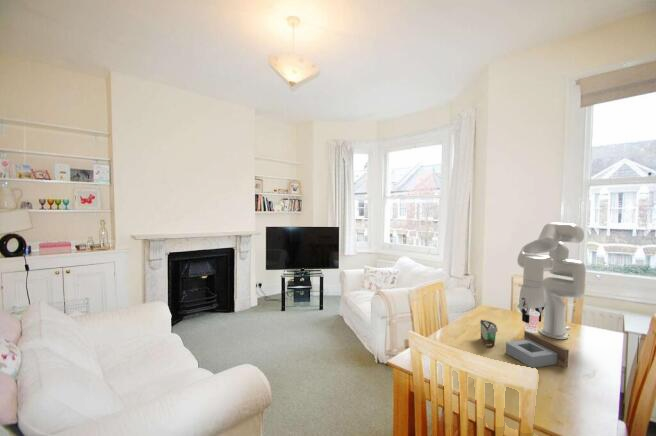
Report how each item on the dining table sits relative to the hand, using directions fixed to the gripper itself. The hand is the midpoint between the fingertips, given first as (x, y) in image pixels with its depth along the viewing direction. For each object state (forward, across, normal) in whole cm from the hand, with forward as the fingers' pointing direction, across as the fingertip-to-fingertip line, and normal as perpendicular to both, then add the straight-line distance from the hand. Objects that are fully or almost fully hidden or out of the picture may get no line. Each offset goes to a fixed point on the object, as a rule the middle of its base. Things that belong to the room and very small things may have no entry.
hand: (531, 321), depth 136 cm
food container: (+18, +7, -17) cm, 26 cm away
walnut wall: (+18, -8, 0) cm, 20 cm away
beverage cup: (+5, 0, 0) cm, 5 cm away
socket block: (+18, 0, 0) cm, 18 cm away
